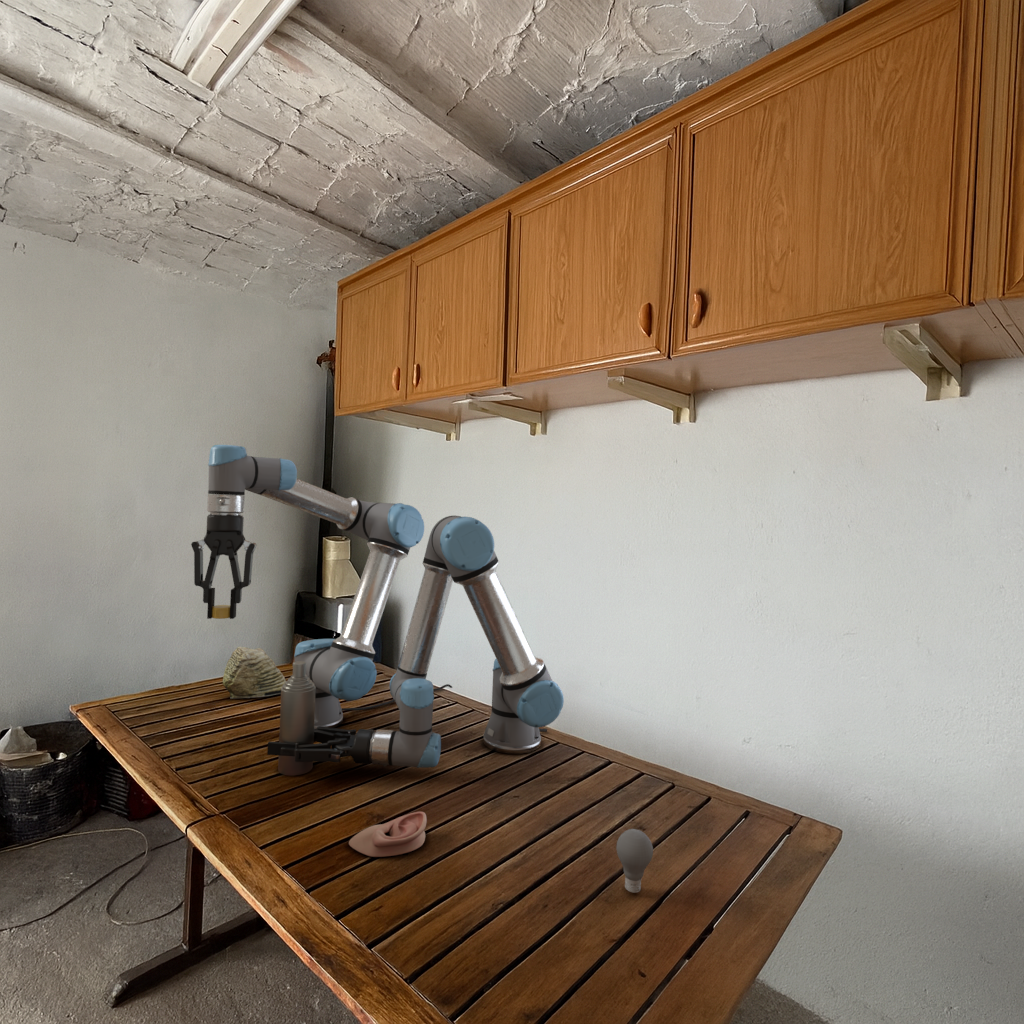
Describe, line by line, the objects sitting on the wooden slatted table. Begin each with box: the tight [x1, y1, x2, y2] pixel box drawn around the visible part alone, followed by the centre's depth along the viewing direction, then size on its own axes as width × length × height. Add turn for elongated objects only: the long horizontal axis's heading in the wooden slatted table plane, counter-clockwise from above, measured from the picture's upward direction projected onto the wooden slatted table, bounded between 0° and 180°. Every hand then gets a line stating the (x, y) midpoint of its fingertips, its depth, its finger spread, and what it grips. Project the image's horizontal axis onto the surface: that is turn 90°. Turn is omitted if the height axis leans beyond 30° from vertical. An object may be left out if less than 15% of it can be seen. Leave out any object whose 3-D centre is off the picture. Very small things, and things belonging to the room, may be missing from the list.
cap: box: [211, 604, 230, 620], centre depth 143 cm, size 4×4×2 cm
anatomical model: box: [348, 811, 428, 858], centre depth 117 cm, size 13×4×12 cm
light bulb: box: [615, 828, 654, 894], centre depth 106 cm, size 6×6×10 cm
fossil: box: [222, 646, 287, 699], centre depth 198 cm, size 9×18×15 cm, turn 132°
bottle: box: [277, 661, 316, 776], centre depth 147 cm, size 8×8×25 cm
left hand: (221, 617), depth 143 cm, fingers closed on cap, 4 cm apart
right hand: (275, 741), depth 147 cm, fingers closed on bottle, 8 cm apart
